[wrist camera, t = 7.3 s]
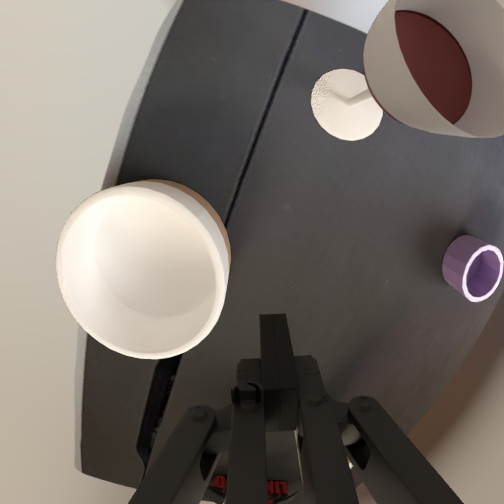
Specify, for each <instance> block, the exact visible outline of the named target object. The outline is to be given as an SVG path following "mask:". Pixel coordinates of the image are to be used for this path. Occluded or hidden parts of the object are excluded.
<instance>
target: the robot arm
mask: <svg viewBox="0 0 504 504" xmlns="http://www.w3.org/2000/svg"><path fill="white" fill-rule="evenodd" d="M260 351H261V358H258V359H241V360H240V361H239V363H238V364H237V369H236V383H235V384H234V385H233V386H232V389H231V396H232V403H231V404H230V405H229V406H227V407H225V408H222V409H218V410H213V409H212V408H211V407H209V406H206V405H196V406H192V407H190V408H188V409H187V410H186V411H185V413H184V414H183V416H182V418H181V419H180V421H179V423H178V424H177V426H176V427H175V429H174V431H173V432H172V434H171V436H170V437H169V439H168V441H167V442H166V444H165V445H164V447H163V449H162V450H161V452H160V453H159V455H158V457H157V458H156V460H155V461H154V463H153V465H152V466H151V468H150V469H149V471H148V473H147V474H146V476H145V477H144V479H143V481H142V482H141V484H140V485H139V487H138V489H137V490H136V492H135V493H134V495H133V496H132V498H131V500H130V501H129V503H128V504H199V503H200V501H201V499H202V497H203V495H204V492H205V490H206V488H207V486H208V483H209V481H210V479H211V477H212V474H213V472H214V470H215V468H216V465H217V463H218V461H219V459H220V456H221V453H223V452H227V451H229V458H228V473H227V487H226V502H225V504H268V491H267V466H266V442H265V432H279V431H295V430H296V429H297V430H298V435H297V445H296V449H298V450H299V457H300V465H301V473H302V481H303V489H304V497H305V504H359V502H358V498H357V494H356V490H355V486H354V482H353V478H352V474H351V470H350V466H349V463H348V459H349V460H350V462H351V464H352V465H353V467H354V468H355V470H356V472H357V473H358V475H359V476H360V478H361V479H362V481H363V483H364V484H365V485H366V487H367V489H368V490H369V492H370V494H371V495H372V497H373V498H374V500H375V501H376V503H377V504H464V503H463V502H462V501H461V500H460V499H459V497H458V496H457V495H456V494H455V493H454V491H453V490H452V489H451V488H450V487H449V486H448V484H447V483H446V482H445V481H444V480H443V478H442V477H441V476H440V475H439V474H438V473H437V471H436V470H435V469H434V468H433V467H432V465H431V464H430V463H429V462H428V461H427V460H426V458H425V457H424V456H423V455H422V454H421V453H420V451H419V450H418V449H417V448H416V447H415V445H414V444H413V443H412V442H411V441H410V439H409V438H408V437H407V436H406V435H405V434H404V432H403V431H402V430H401V429H400V428H399V426H398V425H397V424H396V423H395V422H394V421H393V419H392V418H391V417H390V416H389V415H388V413H387V412H386V411H385V410H384V409H383V408H382V406H381V405H380V404H379V403H378V402H377V401H376V400H375V399H374V398H372V397H369V396H357V397H355V398H353V399H352V400H351V401H350V402H349V403H345V402H338V401H335V400H332V399H331V398H330V397H329V395H328V394H326V392H325V389H324V386H323V382H322V379H321V375H320V371H319V369H318V364H317V361H316V360H315V359H314V358H313V357H312V356H311V355H307V356H294V355H293V350H292V344H291V339H290V334H289V329H288V324H287V319H286V314H264V315H260ZM347 457H348V459H347Z"/></svg>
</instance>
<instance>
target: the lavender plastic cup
mask: <svg viewBox="0 0 504 504" xmlns="http://www.w3.org/2000/svg"><path fill="white" fill-rule="evenodd" d="M442 272H443V277H444V279H445V281H446V282H447V283H448V284H449V285H450V286H451V287H452V288H454V289H455V290H456V291H458V292H459V293H460V294H461V295H463V296H464V297H465V298H467V299H468V300H469V301H471V302H480V301H482V300H485V299H487V298H488V297H489V296H490V295H491V294H492V293H493V292H494V291H495V289H496V287H497V286H498V284H499V282H500V279H501V276H502V273H503V258H502V254H501V252H500V251H499V249H498V248H497V247H496V246H494V245H492V244H490V243H488V242H485V241H483V240H481V239H479V238H477V237H473V236H471V235H463V236H460V237H458V238H457V239H455V240H454V241H453V242H452V243H451V244H450V246H449V247H448V249H447V251H446V253H445V255H444V258H443V263H442Z"/></svg>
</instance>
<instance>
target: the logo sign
mask: <svg viewBox="0 0 504 504" xmlns="http://www.w3.org/2000/svg"><path fill="white" fill-rule="evenodd" d="M226 487H227V478H226V481H225V477H224V476H221V475H217V476H216V477H215V481H214V484H213V486H212V485H211V484H210V485H209V487H207V488H206V490H205V492H204V495H205V496H206V497H207V498H209V499H210V500H212V501H213V502H215V503H216V504H223V503H224V504H225V502H226ZM223 489H224V492H223ZM267 491H268V504H288V503H289V502H290V501H291V500H292V499H293V498H294V497H295V496H296V494H297V493H298V491H299V490H298V491H297V492H296V493H294V494H293V495H291V496H288V494H287V493H288V492H287V482H282V481H280V482H279V481H275V482H274V484H273V481H270V482H268V481H267ZM277 496H278V497H277ZM287 496H288V497H287Z"/></svg>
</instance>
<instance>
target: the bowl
mask: <svg viewBox="0 0 504 504" xmlns="http://www.w3.org/2000/svg"><path fill="white" fill-rule="evenodd" d="M230 263H231V253H230V243H229V239H228V235H227V232H226V229H225V227H224V225H223V223H222V221H221V219H220V217H219V215H218V214H217V213H216V211H215V210H214V209H213V207H212V206H211V205H210V204H209V203H208V202H207V201H206V200H205V199H204V198H203V197H202V196H200V195H199V194H198V193H197V192H195V191H193V190H191V189H190V188H188V187H186V186H184V185H182V184H179V183H176V182H173V181H169V180H160V179H150V180H141V181H136V182H132V183H126V184H122V185H118V186H114V187H111V188H108V189H105V190H102V191H99V192H96V193H95V194H93V195H92V196H90V197H89V198H87V199H86V200H84V201H83V202H82V203H81V204H80V205H79V206H78V207H77V208H76V209H75V210H74V211H73V212H72V213H71V215H70V216H69V218H68V220H67V222H66V223H65V225H64V227H63V229H62V231H61V234H60V237H59V240H58V245H57V252H56V273H57V278H58V282H59V287H60V290H61V293H62V295H63V298H64V300H65V303H66V305H67V306H68V308H69V310H70V311H71V313H72V315H73V316H74V318H75V319H76V320H77V321H78V323H79V324H80V325H81V326H82V327H83V328H84V330H85V331H87V332H88V333H89V334H90V335H91V336H92V337H93V338H95V339H96V340H97V341H99V342H100V343H102V344H103V345H105V346H107V347H108V348H110V349H112V350H114V351H117V352H119V353H122V354H124V355H128V356H132V357H136V358H142V359H161V358H168V357H172V356H175V355H178V354H181V353H184V352H186V351H187V350H189V349H191V348H192V347H194V346H196V345H197V344H198V343H200V342H201V341H202V340H203V339H204V338H205V337H206V336H207V335H208V334H209V333H210V331H211V330H212V328H213V327H214V325H215V324H216V322H217V321H218V318H219V316H220V313H221V310H222V308H223V305H224V300H225V294H226V289H227V282H228V276H229V270H230Z"/></svg>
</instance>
